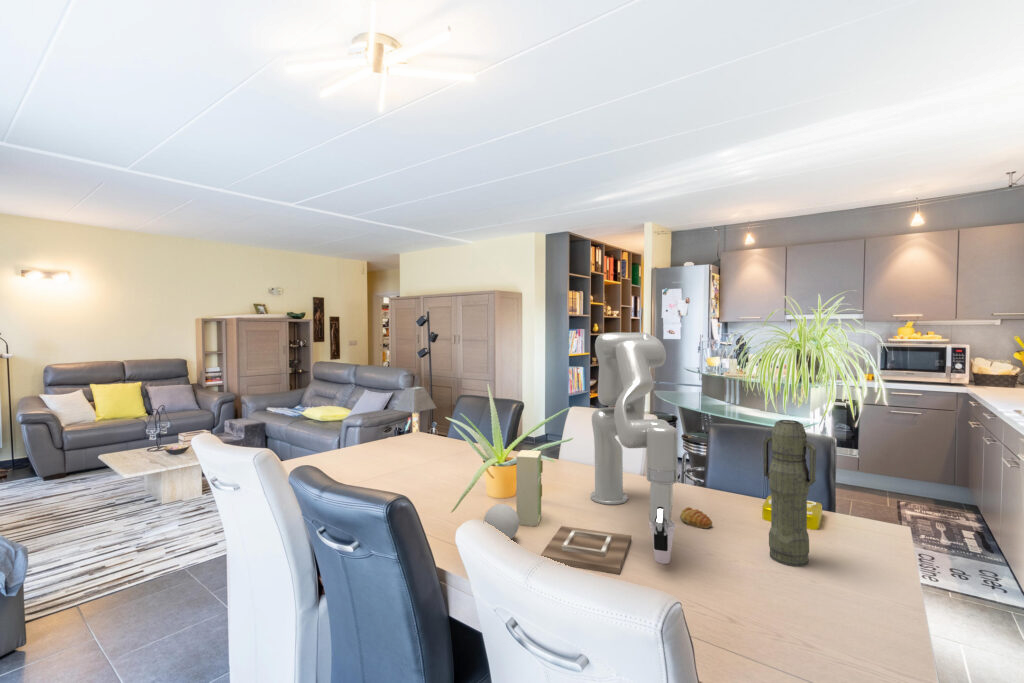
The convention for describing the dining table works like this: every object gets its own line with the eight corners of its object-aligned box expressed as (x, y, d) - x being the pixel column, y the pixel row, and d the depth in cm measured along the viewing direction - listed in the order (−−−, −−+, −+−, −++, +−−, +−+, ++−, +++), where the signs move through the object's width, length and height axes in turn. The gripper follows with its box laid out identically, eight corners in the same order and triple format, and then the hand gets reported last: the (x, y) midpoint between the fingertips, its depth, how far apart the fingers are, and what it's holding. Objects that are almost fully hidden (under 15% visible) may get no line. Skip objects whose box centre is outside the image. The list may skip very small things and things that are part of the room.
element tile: (769, 506, 163) (769, 492, 163) (822, 516, 155) (822, 501, 155) (761, 521, 151) (761, 505, 151) (818, 532, 142) (818, 516, 142)
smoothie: (645, 555, 128) (645, 501, 128) (669, 554, 129) (669, 500, 129) (654, 567, 122) (654, 510, 122) (679, 565, 123) (679, 509, 122)
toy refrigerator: (540, 527, 148) (539, 457, 147) (516, 525, 149) (515, 456, 149) (544, 517, 155) (543, 450, 155) (521, 515, 157) (520, 449, 156)
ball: (524, 536, 141) (524, 501, 141) (510, 551, 132) (510, 513, 132) (493, 531, 145) (493, 497, 145) (477, 544, 136) (476, 508, 136)
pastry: (718, 527, 147) (718, 514, 146) (702, 532, 143) (702, 519, 143) (692, 516, 155) (692, 504, 155) (677, 521, 152) (677, 508, 151)
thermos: (812, 572, 119) (812, 427, 118) (758, 557, 126) (759, 421, 125) (819, 559, 125) (819, 421, 124) (768, 546, 133) (768, 416, 132)
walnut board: (561, 530, 144) (561, 521, 144) (631, 540, 137) (631, 531, 137) (540, 560, 126) (540, 550, 126) (619, 574, 119) (619, 563, 118)
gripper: (650, 464, 134) (650, 527, 135) (642, 482, 118) (643, 555, 119) (679, 466, 132) (679, 531, 132) (675, 486, 116) (675, 560, 116)
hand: (662, 542), depth 125 cm, fingers open, 8 cm apart
